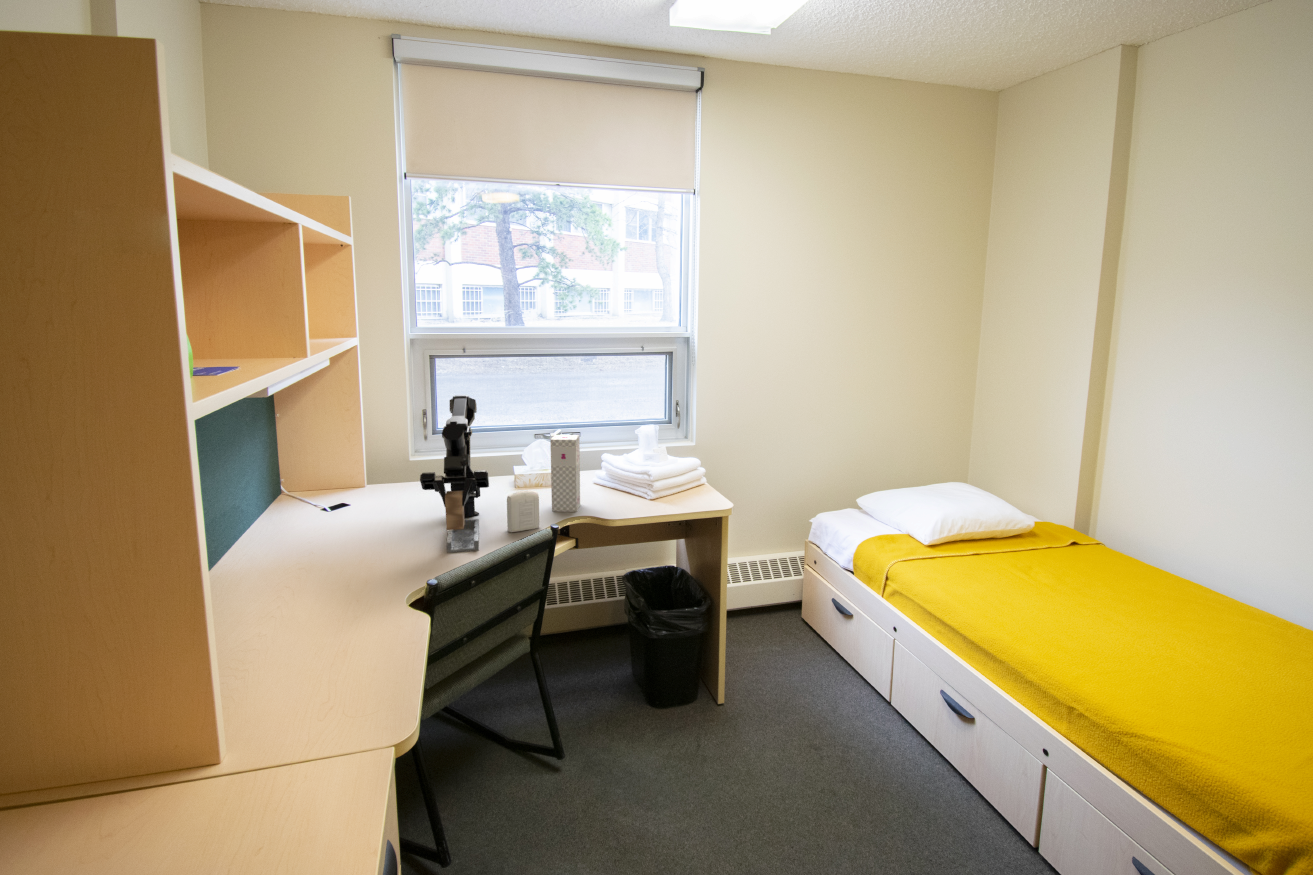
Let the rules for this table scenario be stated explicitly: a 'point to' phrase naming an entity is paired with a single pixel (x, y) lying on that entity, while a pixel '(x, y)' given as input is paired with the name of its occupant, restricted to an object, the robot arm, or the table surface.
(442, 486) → the robot arm
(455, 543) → the gray rectangular tray
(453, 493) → the wooden tall block
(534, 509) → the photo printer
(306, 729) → the table surface
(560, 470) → the box
